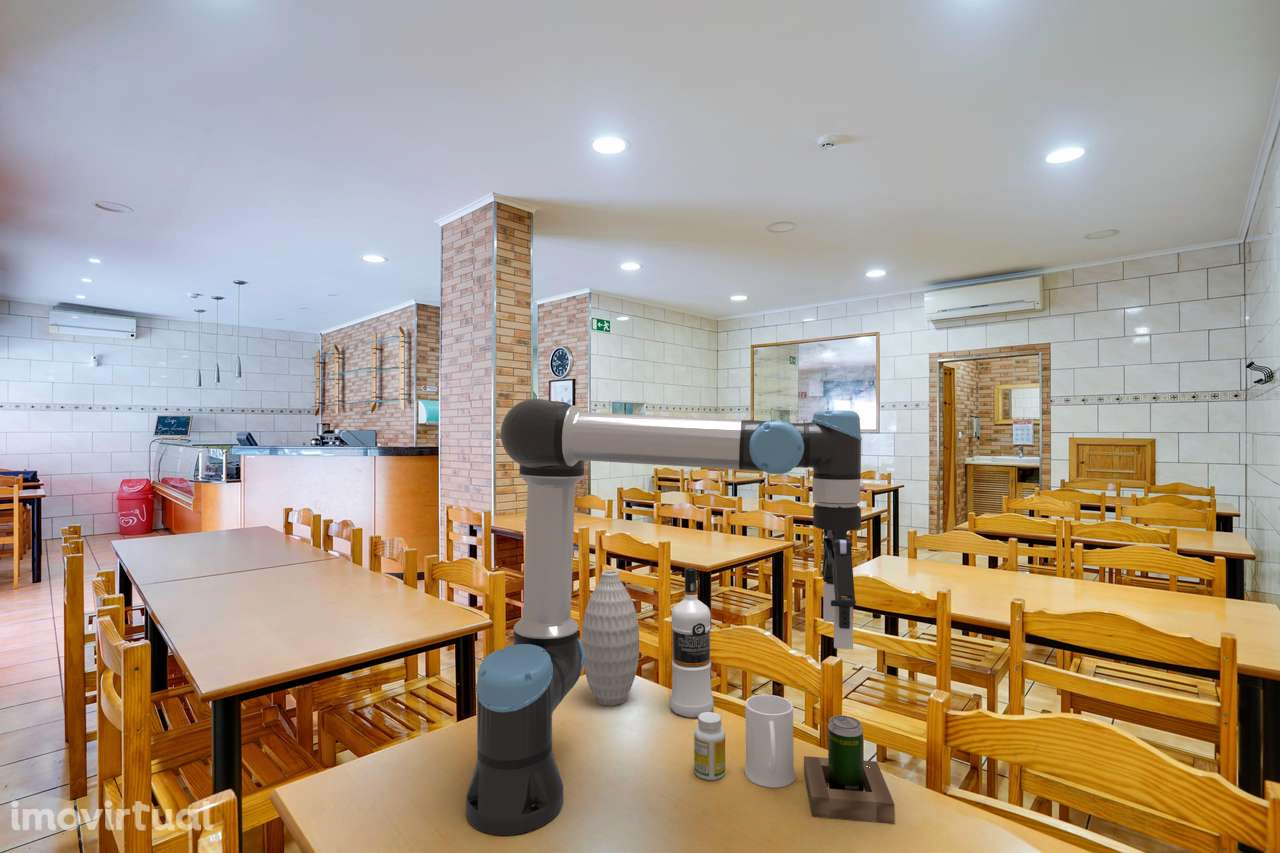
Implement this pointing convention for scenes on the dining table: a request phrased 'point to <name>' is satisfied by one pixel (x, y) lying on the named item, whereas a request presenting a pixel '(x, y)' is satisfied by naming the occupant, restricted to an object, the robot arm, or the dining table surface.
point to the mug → (769, 741)
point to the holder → (848, 794)
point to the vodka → (691, 653)
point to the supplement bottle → (709, 747)
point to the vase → (610, 640)
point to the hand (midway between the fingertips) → (837, 633)
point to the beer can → (845, 754)
